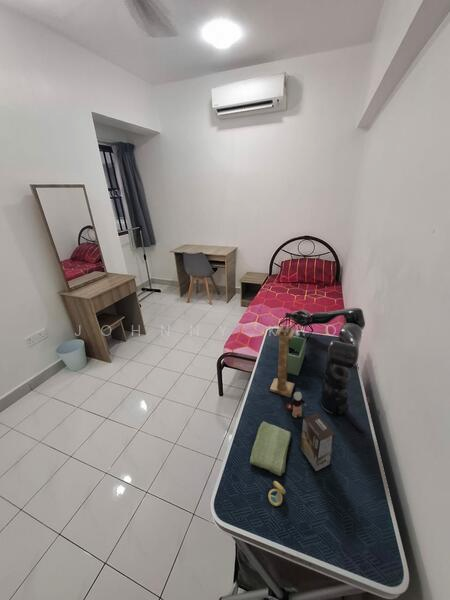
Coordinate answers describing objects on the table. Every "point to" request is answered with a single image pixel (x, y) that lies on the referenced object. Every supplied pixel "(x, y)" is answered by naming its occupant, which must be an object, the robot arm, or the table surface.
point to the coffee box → (317, 441)
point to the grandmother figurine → (297, 404)
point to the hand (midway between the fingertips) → (296, 316)
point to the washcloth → (270, 448)
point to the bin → (296, 355)
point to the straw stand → (283, 363)
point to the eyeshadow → (276, 494)
